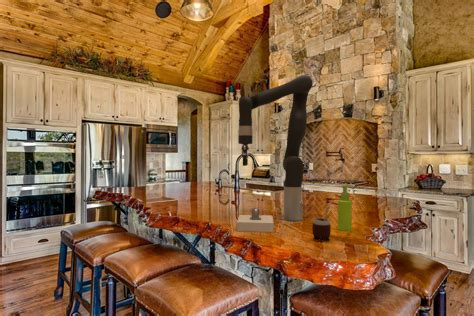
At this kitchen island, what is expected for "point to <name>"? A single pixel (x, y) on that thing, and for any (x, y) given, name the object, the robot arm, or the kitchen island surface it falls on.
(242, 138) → the robot arm
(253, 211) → the peg
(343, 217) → the soap dispenser
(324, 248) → the kitchen island surface
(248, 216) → the socket block
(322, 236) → the mate gourd
